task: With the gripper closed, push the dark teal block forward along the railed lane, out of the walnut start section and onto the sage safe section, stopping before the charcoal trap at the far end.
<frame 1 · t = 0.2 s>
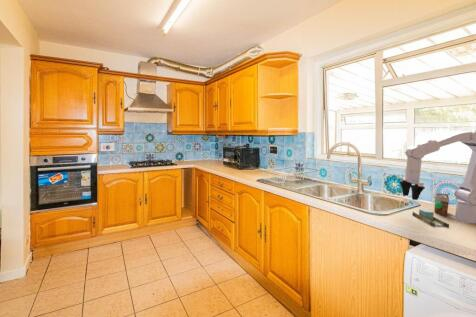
hand: (410, 197, 123), 10 cm above the worktop, tool pointing down, fingers open, 7 cm apart
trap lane: (429, 221, 118), on the worktop
teal block: (425, 218, 120), resting on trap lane
food container: (438, 213, 131), on the worktop
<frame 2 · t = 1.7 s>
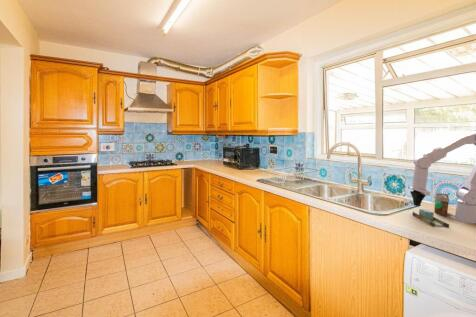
hand: (416, 205, 127), 5 cm above the worktop, tool pointing down, fingers closed
nothing on the worktop moved.
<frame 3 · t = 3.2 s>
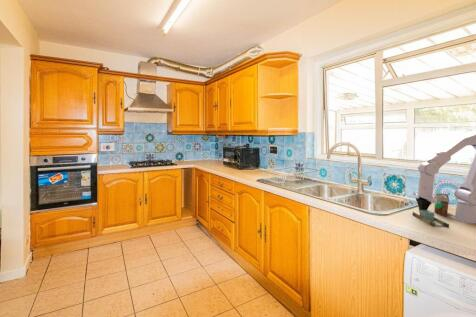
hand: (422, 213, 123), 2 cm above the worktop, tool pointing down, fingers closed
teal block: (426, 219, 120), resting on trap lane, touching gripper
everything else where it was.
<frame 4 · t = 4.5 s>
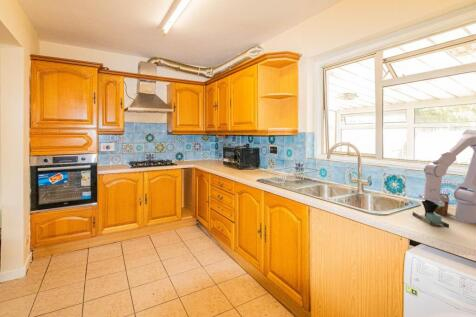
hand: (428, 216, 118), 2 cm above the worktop, tool pointing down, fingers closed
teal block: (432, 222, 115), resting on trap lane, touching gripper
everything else where it was.
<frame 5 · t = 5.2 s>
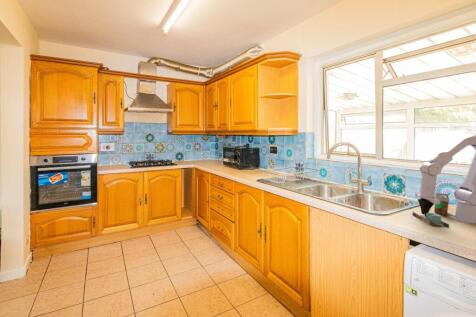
hand: (424, 214, 121), 2 cm above the worktop, tool pointing down, fingers closed
teal block: (432, 222, 115), resting on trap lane
everything else where it was.
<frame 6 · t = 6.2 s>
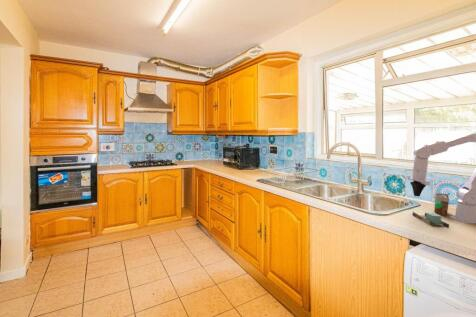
hand: (416, 196, 128), 9 cm above the worktop, tool pointing down, fingers closed
nothing on the worktop moved.
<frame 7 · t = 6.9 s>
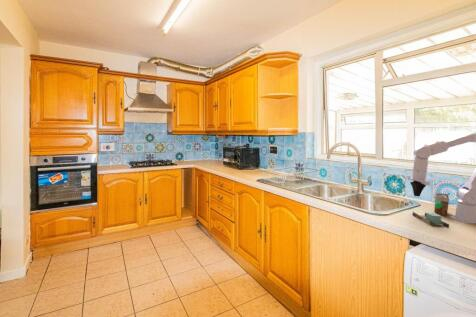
hand: (416, 196, 128), 9 cm above the worktop, tool pointing down, fingers closed
nothing on the worktop moved.
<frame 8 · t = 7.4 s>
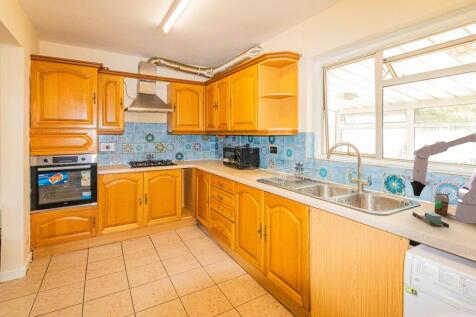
hand: (416, 196, 128), 9 cm above the worktop, tool pointing down, fingers closed
nothing on the worktop moved.
at the end: teal block 0.1 cm from the target spot, resting on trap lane; teal block tilted 0°; teal block moved 5.2 cm from its start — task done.
